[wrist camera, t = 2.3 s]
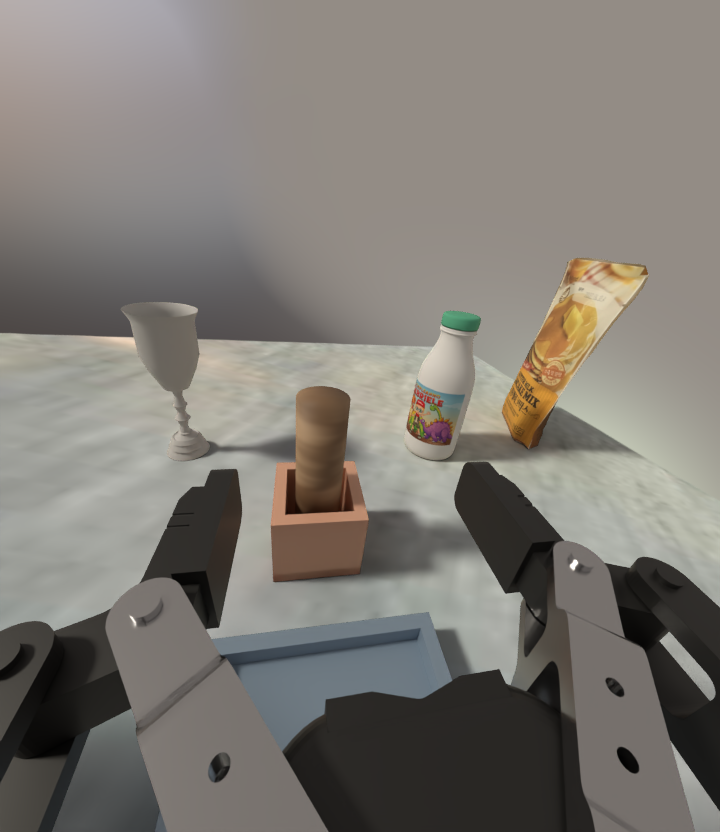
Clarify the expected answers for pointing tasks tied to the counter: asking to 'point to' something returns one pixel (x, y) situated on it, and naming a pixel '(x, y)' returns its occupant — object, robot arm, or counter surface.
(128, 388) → the counter surface
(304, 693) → the slate tray
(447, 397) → the milk bottle
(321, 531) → the terracotta cup
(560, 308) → the pancake mix bag
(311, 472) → the walnut dowel
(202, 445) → the chalice
